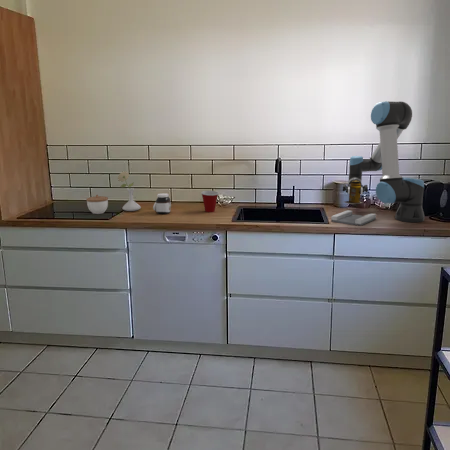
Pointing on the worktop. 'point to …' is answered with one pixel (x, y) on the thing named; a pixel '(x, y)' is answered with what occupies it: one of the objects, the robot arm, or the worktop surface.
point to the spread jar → (162, 204)
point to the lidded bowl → (97, 204)
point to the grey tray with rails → (352, 218)
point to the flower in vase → (131, 204)
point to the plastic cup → (209, 200)
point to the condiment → (354, 192)
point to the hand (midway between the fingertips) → (355, 191)
